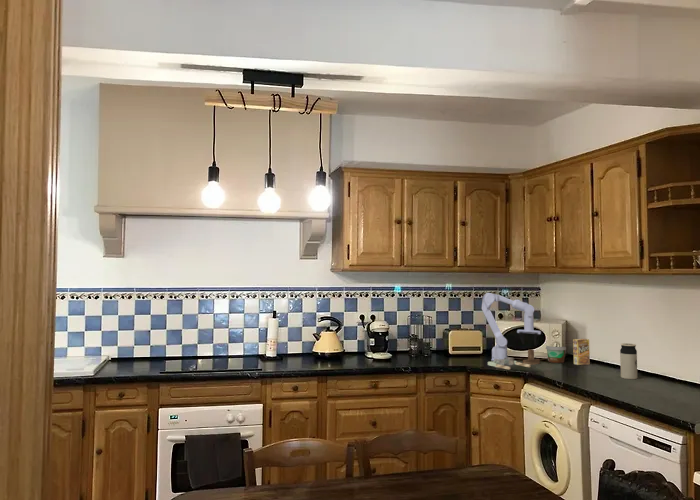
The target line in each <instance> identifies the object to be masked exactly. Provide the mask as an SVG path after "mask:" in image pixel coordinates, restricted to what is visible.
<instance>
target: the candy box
mask: <svg viewBox="0 0 700 500" xmlns="http://www.w3.org/2000/svg"><path fill="white" fill-rule="evenodd" d="M572 342H573V343H572V347H573V349H572V350H573V365H576V366H580V365H581V366H584V365H586V366H587V365H590V363H591V362H590V360H591V358H590V357H591V356H590V339H588V338H574V339H572Z"/></svg>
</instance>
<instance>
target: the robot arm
mask: <svg viewBox="0 0 700 500" xmlns="http://www.w3.org/2000/svg"><path fill="white" fill-rule="evenodd" d="M481 301H482V302H481V311H482V313H483V315H484V318H485V319H486V321H487V323H488V325H489V327H490V330H491V331H492V334H493V335H494V340H495V343H496V345H494V346H493V347H492V349H491V359H490V360H491V361H494V359H497V358H500V359H504V358H507V357H508V346H507V345H508V339H507V338H506V337H505V336H504V335H503V333H502V331H501V329H500V328H499V326H498V325H499V324H498V323H497V322H496V320H495V317H494V315H493V313H492V311H491V308H492V305H493V303H495V302H501V303H505V304H508V305H511V307H512V309H515V310H518V311H520V312H524V313H523V314H524V315H523V325H524V327H523V328H524V329H517V330H516V333H517V334H518V337H519V338H520V341H521V344H522V346H523V345H525V337H526V334H532V336H533V346H537V343H538V340H539V338H540V335H541V334H542V331H541V330H534V328H535V327H534V325H535V324H534V321H535V319H534V312H535V307H534V306H533V305H532V304H529V303H528V302H524V301H521V299H514V300H513V299H510V298H508V297H506V296H503V295H500V294H496V293H491V292H486V293H484V295H483V297H482V300H481Z"/></svg>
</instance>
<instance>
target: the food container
mask: <svg viewBox="0 0 700 500" xmlns="http://www.w3.org/2000/svg"><path fill="white" fill-rule="evenodd" d="M545 349H546V353H547V361H548V362H549V363H551V364H552V363H553V364H562V363H565V355H566V351H567V347H566V346H550V345H546V346H545Z"/></svg>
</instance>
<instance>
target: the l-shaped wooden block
mask: <svg viewBox="0 0 700 500" xmlns="http://www.w3.org/2000/svg"><path fill="white" fill-rule="evenodd" d="M522 363H525V364H530V366H532V365H533V366H534V365H540V358H535V350H534V349H528V350H527V359H523V360H522Z"/></svg>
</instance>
